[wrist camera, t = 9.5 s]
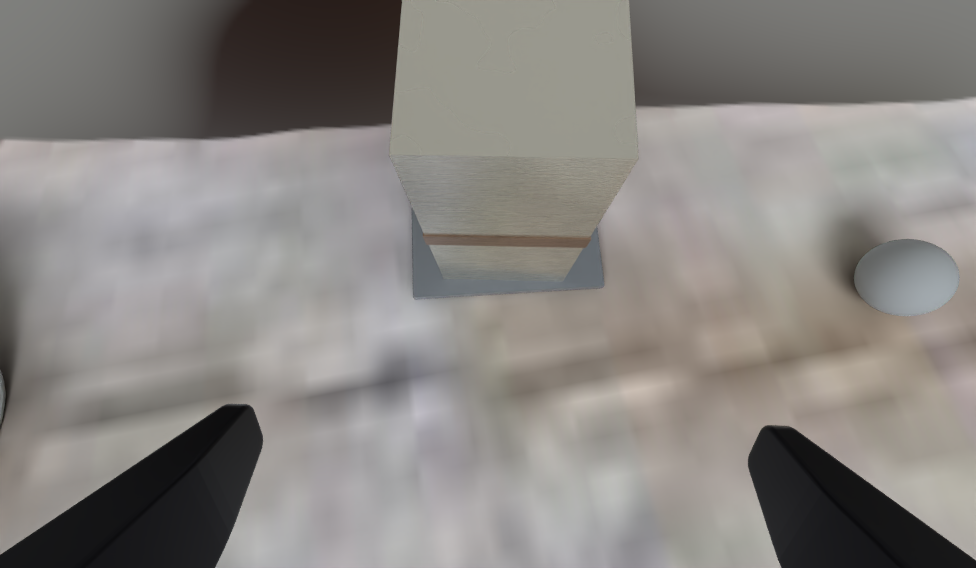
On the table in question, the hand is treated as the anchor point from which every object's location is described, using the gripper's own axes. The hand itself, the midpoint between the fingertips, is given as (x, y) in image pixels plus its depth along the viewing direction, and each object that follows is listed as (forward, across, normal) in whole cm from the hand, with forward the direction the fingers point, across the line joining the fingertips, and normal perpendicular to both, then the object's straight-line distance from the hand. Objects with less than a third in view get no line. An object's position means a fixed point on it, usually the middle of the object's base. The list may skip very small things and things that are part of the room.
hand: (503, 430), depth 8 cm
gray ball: (+10, -16, +2) cm, 19 cm away
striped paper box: (+12, 0, +1) cm, 13 cm away
